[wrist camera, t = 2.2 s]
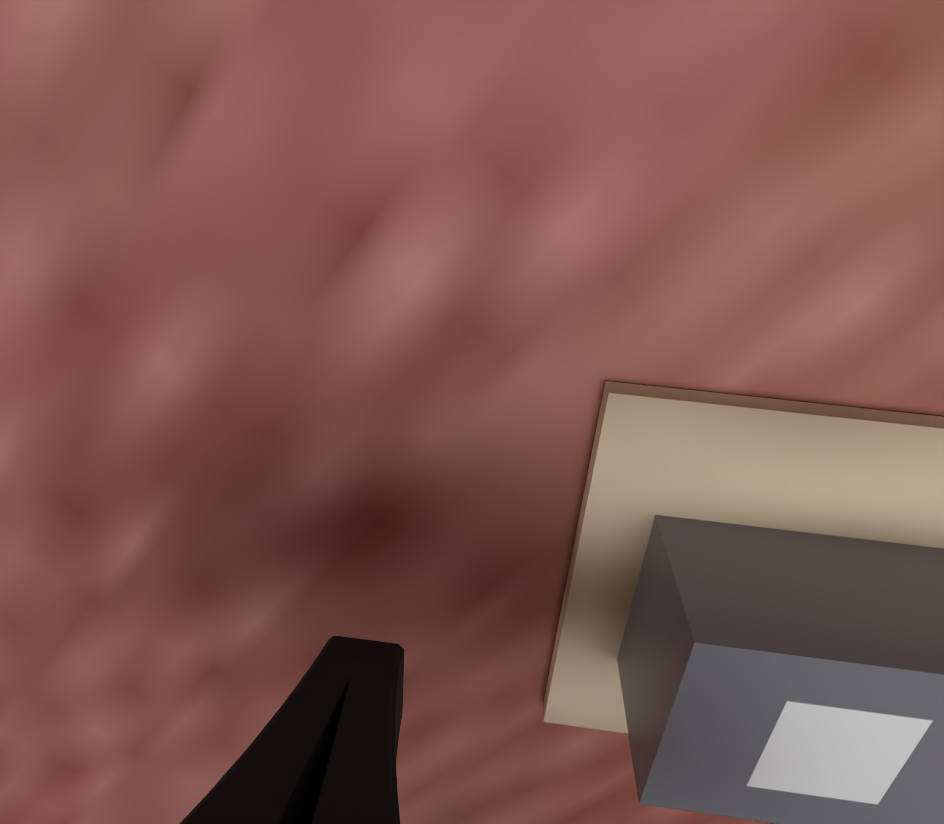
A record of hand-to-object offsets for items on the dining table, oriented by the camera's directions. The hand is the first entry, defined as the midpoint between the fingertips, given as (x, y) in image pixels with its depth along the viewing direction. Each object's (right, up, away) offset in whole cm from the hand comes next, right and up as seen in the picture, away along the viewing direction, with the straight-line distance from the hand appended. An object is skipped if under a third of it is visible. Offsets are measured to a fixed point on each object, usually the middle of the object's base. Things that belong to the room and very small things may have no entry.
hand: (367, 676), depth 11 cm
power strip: (+13, 0, +2) cm, 13 cm away
